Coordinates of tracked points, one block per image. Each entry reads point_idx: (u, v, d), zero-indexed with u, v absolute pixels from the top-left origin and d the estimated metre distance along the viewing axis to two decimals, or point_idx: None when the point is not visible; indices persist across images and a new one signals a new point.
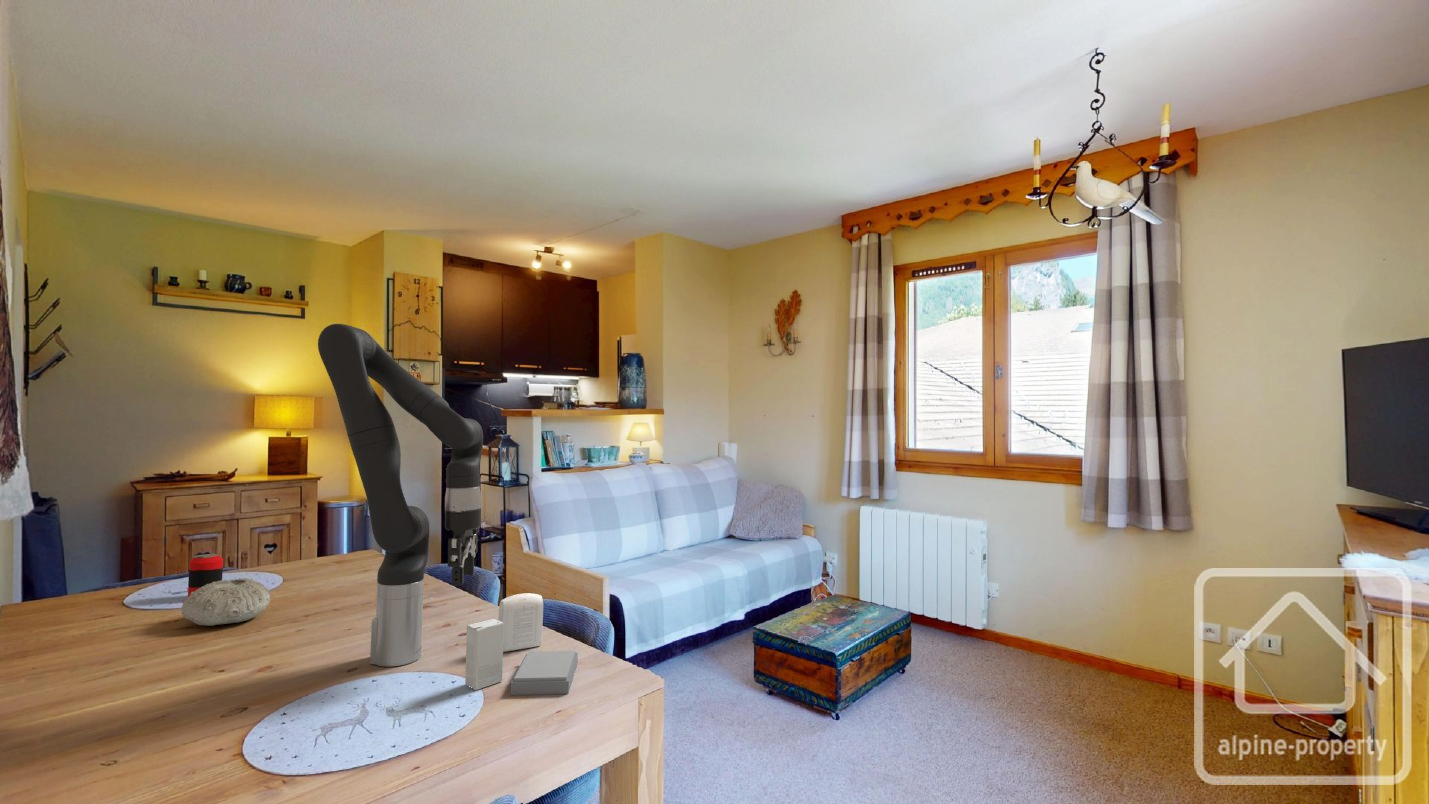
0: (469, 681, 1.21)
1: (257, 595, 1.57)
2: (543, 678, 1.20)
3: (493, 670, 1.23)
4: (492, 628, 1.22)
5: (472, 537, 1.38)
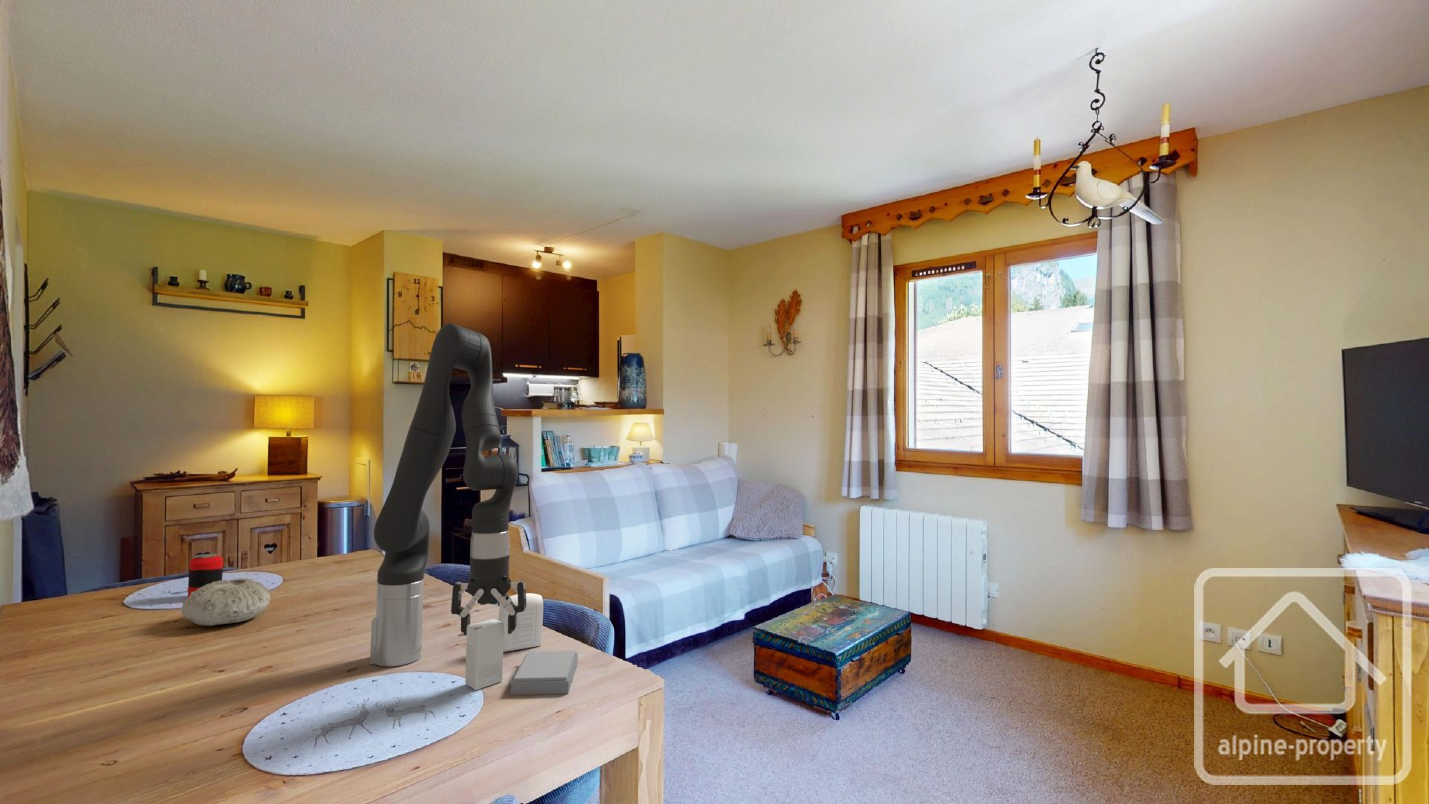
0: (469, 681, 1.21)
1: (257, 595, 1.57)
2: (543, 678, 1.20)
3: (493, 670, 1.23)
4: (492, 628, 1.22)
5: None
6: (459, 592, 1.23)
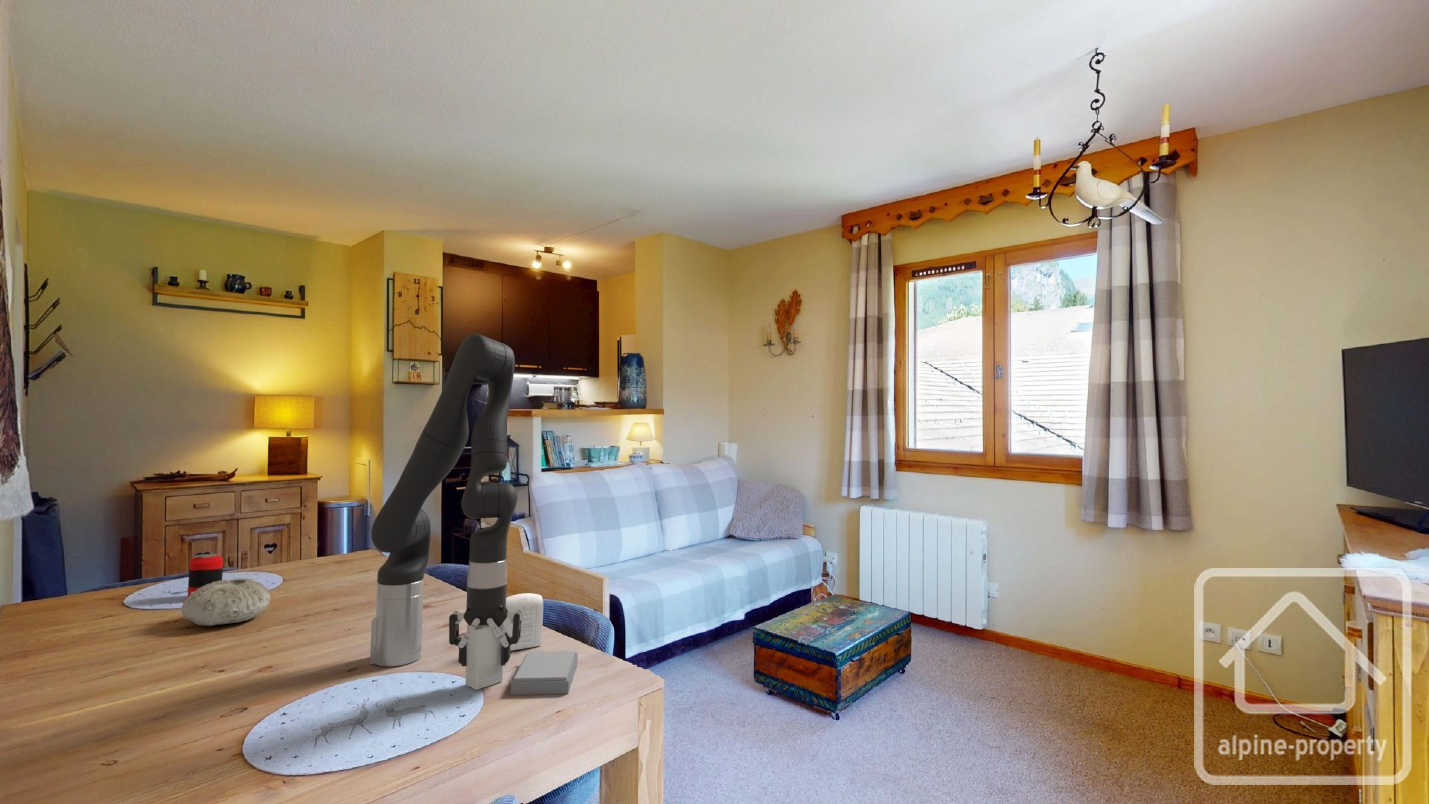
0: (469, 681, 1.21)
1: (257, 595, 1.57)
2: (543, 678, 1.20)
3: (493, 670, 1.23)
4: None
5: None
6: (456, 622, 1.22)
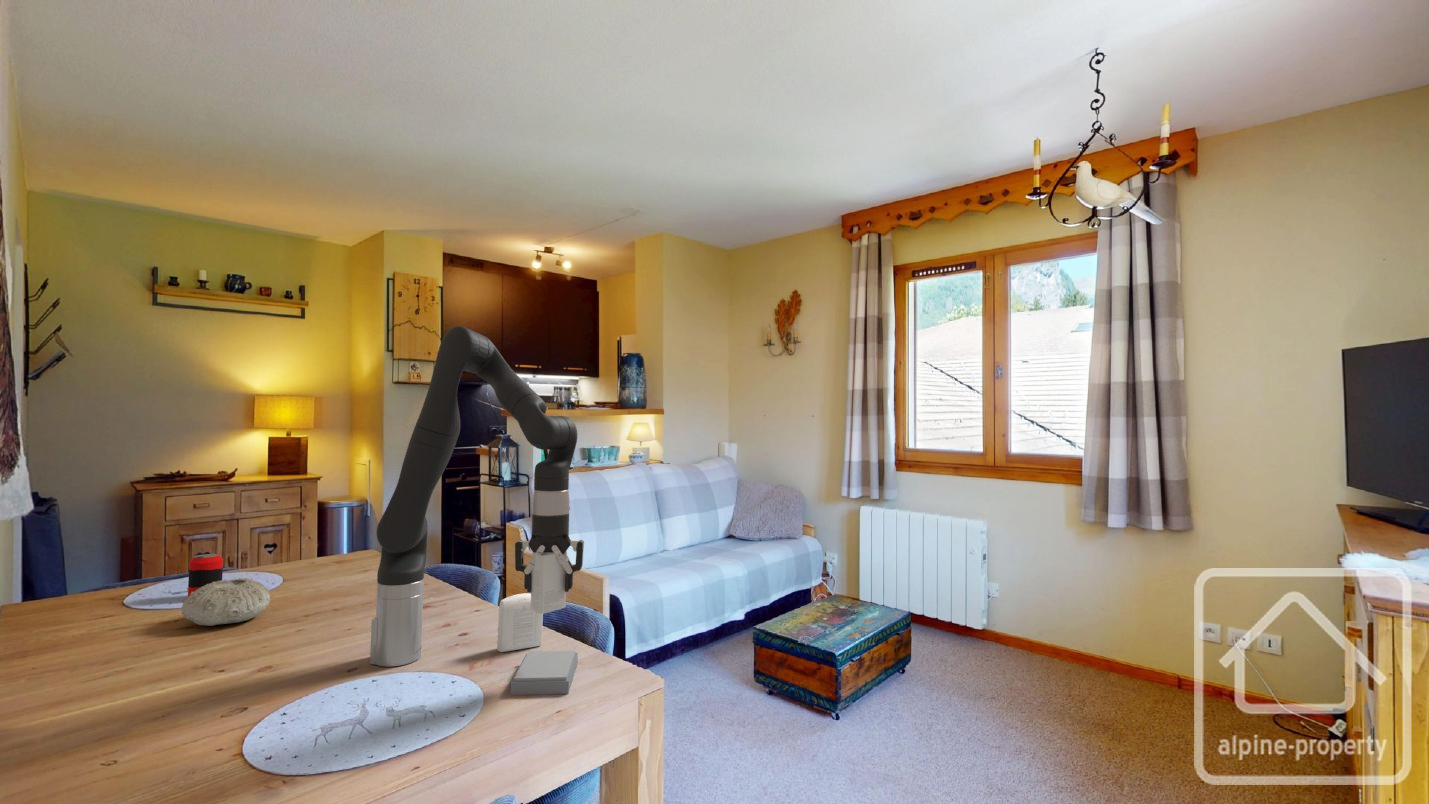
0: (534, 606, 1.25)
1: (257, 595, 1.57)
2: (543, 678, 1.20)
3: (557, 596, 1.26)
4: None
5: None
6: (521, 549, 1.26)
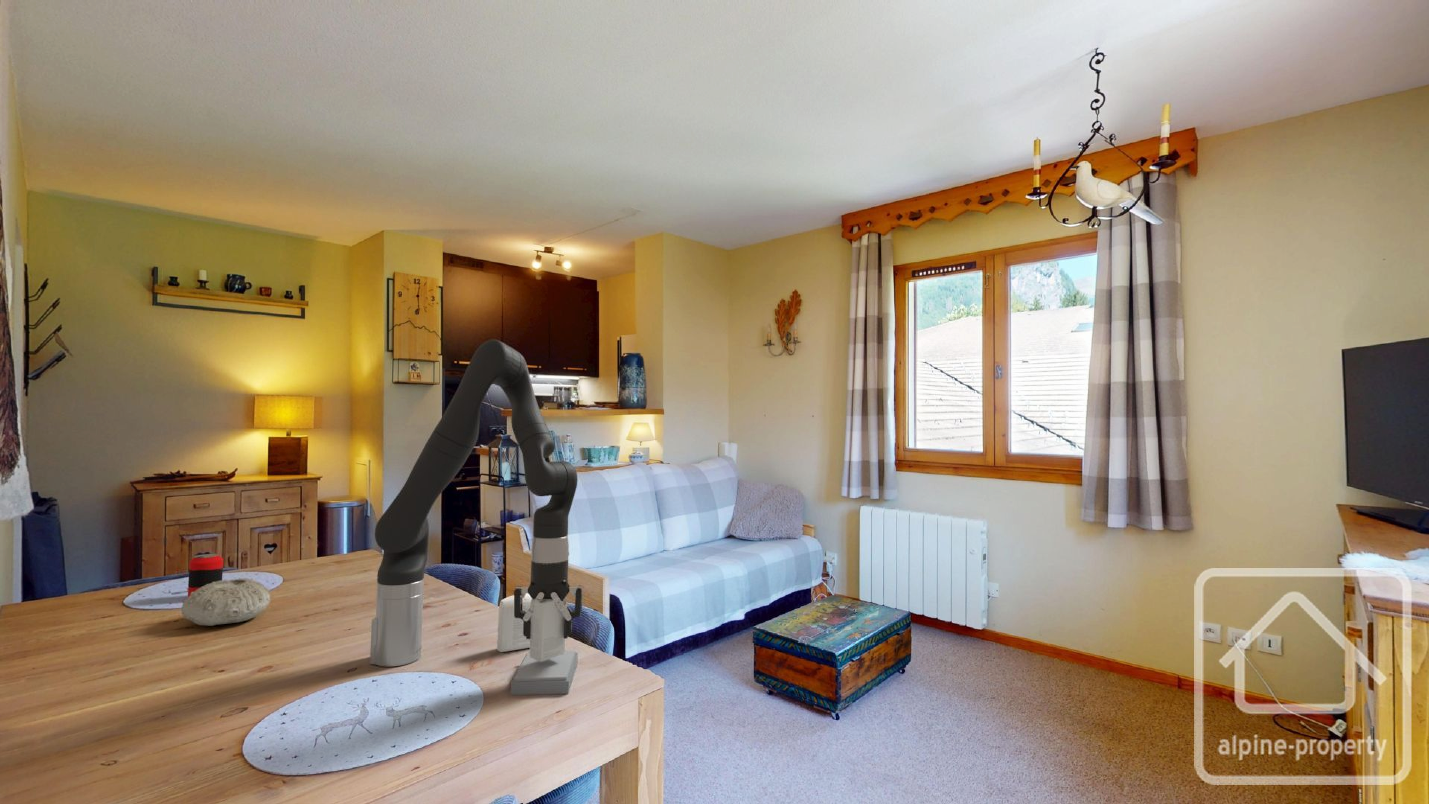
0: (533, 653, 1.25)
1: (257, 595, 1.57)
2: (543, 678, 1.20)
3: (556, 642, 1.26)
4: None
5: None
6: (520, 596, 1.25)
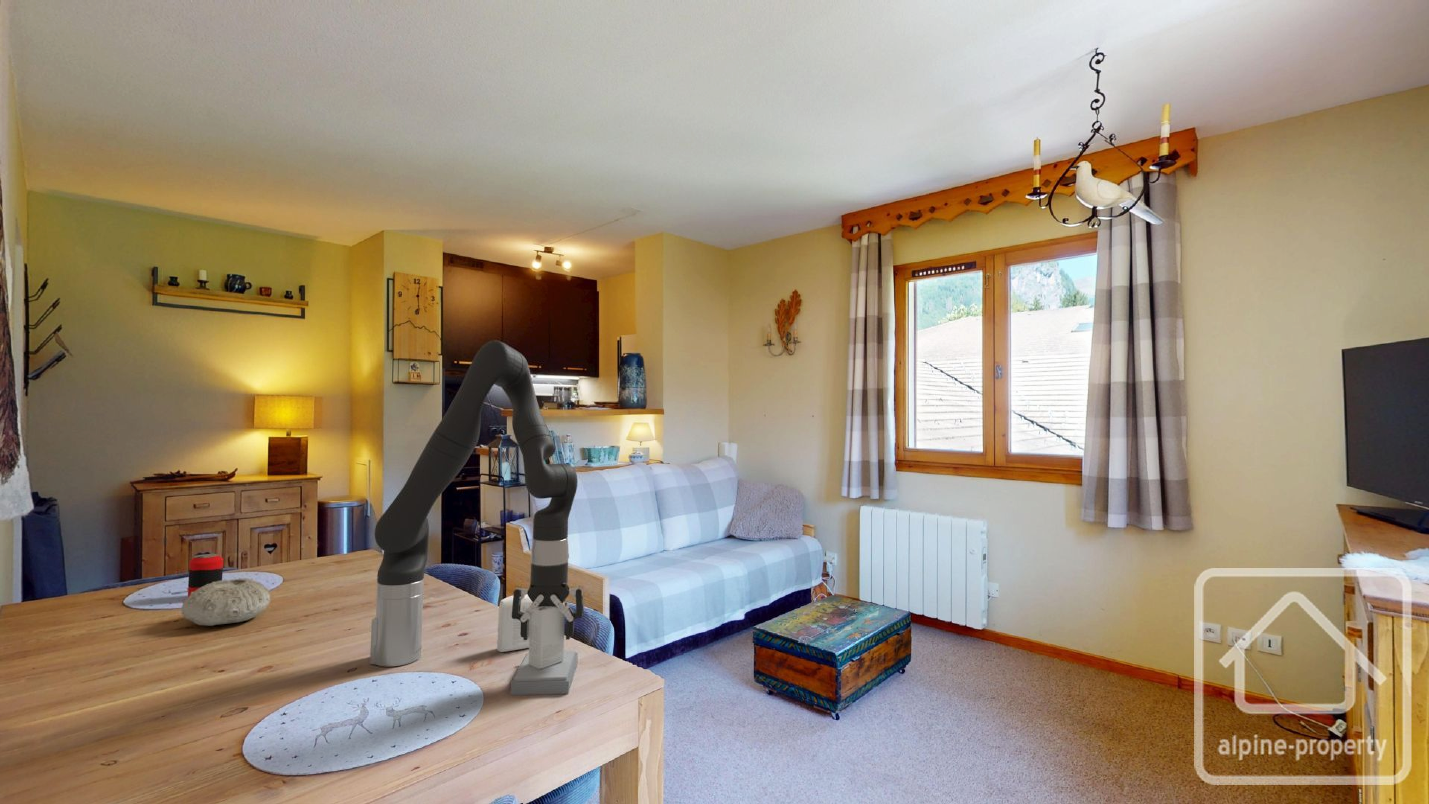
0: (532, 661, 1.25)
1: (257, 595, 1.57)
2: (543, 678, 1.20)
3: (555, 650, 1.26)
4: (555, 609, 1.26)
5: None
6: (520, 597, 1.25)
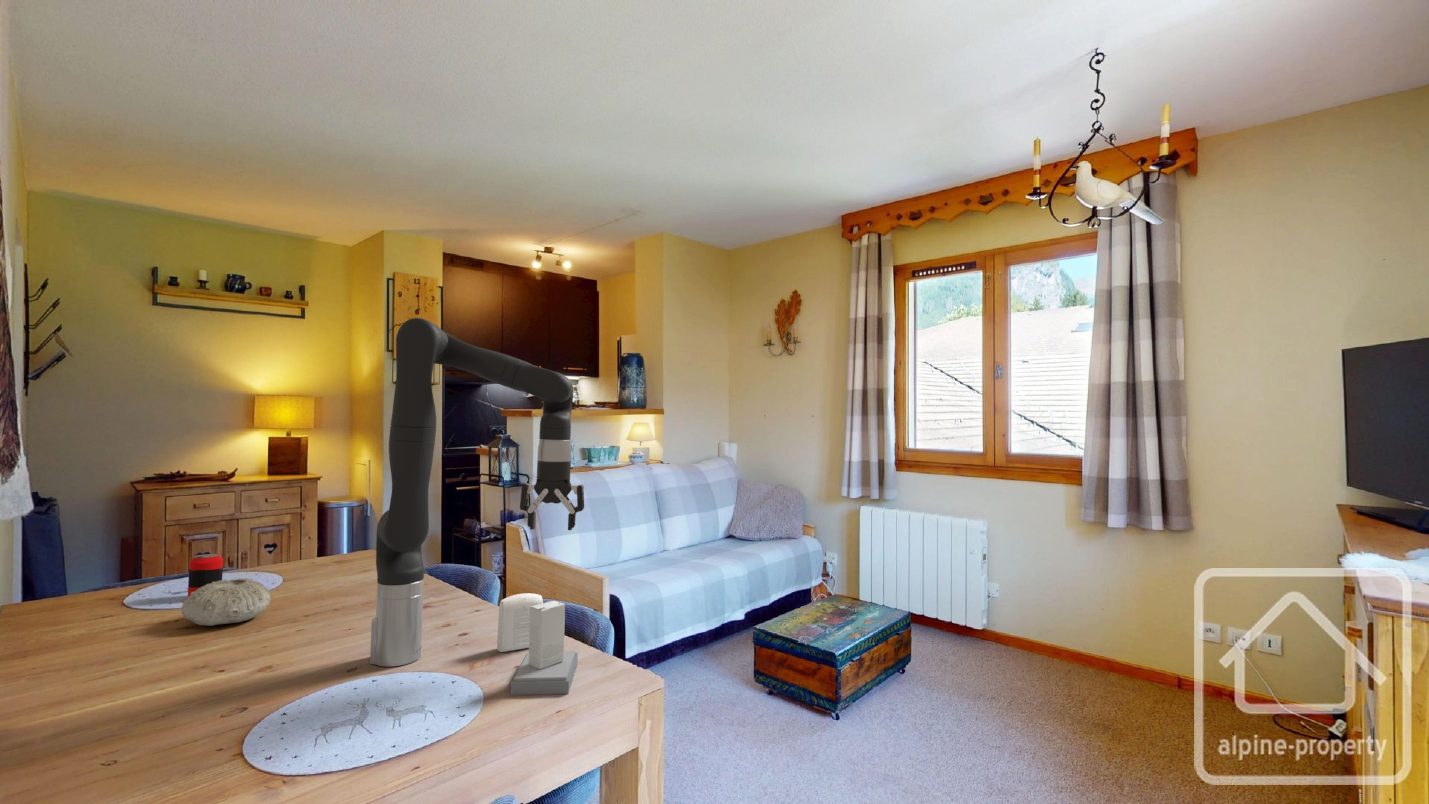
0: (532, 661, 1.25)
1: (257, 595, 1.57)
2: (543, 678, 1.20)
3: (555, 650, 1.26)
4: (555, 609, 1.26)
5: None
6: (527, 491, 1.40)
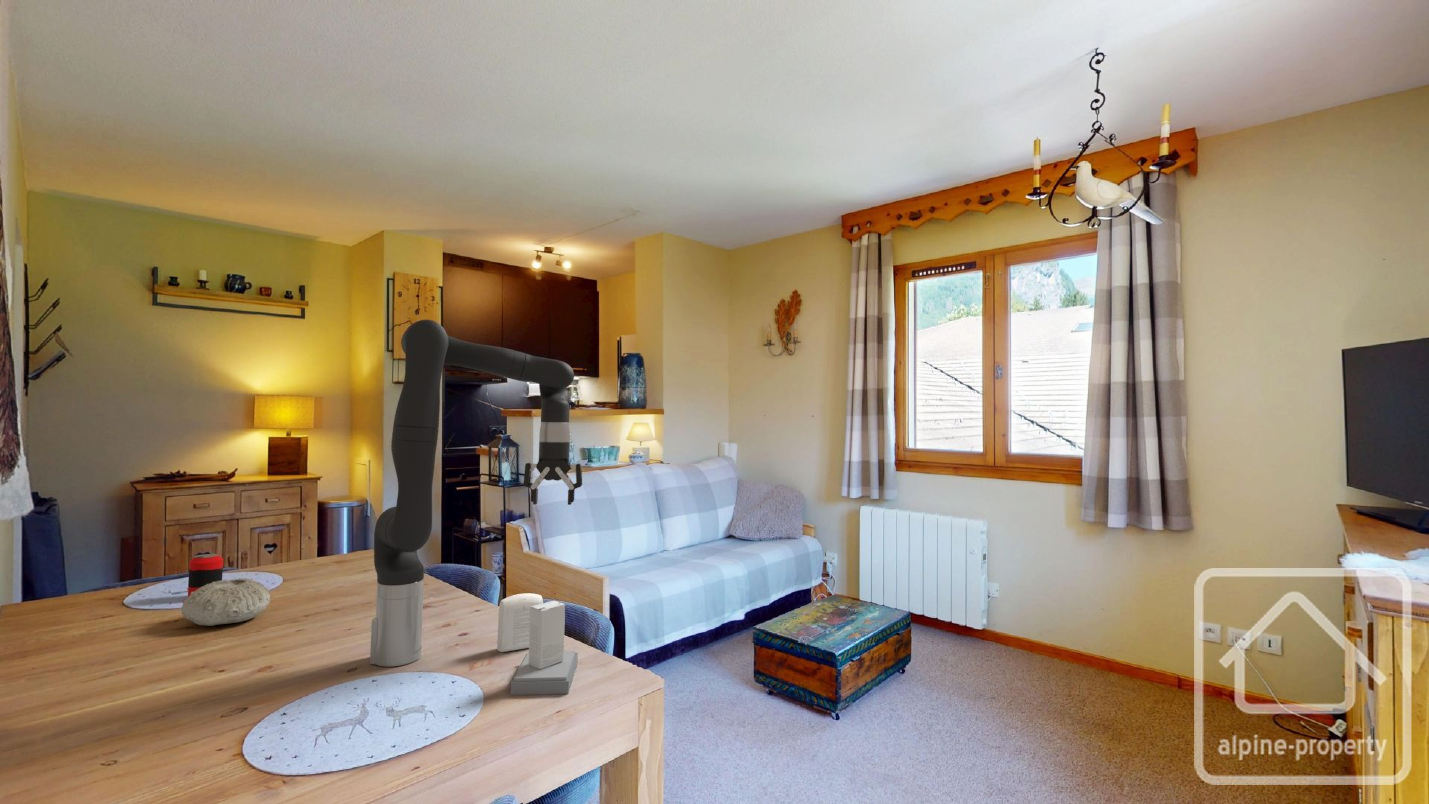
0: (532, 661, 1.25)
1: (257, 595, 1.57)
2: (543, 678, 1.20)
3: (555, 650, 1.26)
4: (555, 609, 1.26)
5: None
6: (530, 469, 1.53)
